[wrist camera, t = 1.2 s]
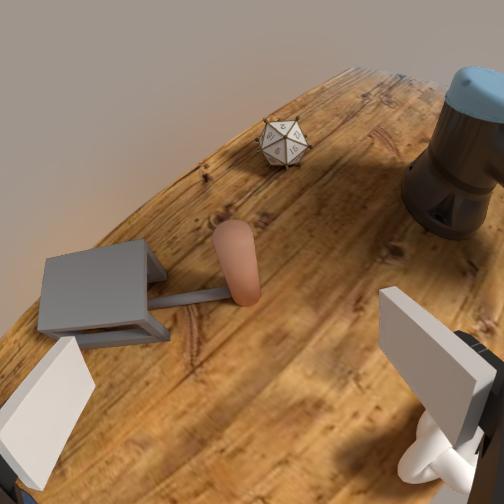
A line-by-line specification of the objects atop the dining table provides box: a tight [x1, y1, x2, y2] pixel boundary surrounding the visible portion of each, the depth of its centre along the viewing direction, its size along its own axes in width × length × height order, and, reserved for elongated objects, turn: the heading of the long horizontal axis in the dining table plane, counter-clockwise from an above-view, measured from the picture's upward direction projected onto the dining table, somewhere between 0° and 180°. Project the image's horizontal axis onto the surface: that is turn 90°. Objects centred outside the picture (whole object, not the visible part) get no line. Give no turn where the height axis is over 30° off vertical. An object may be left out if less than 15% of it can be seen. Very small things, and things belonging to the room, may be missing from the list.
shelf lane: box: [37, 239, 170, 349], centre depth 36 cm, size 14×9×8 cm
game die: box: [255, 116, 314, 170], centre depth 47 cm, size 9×8×10 cm
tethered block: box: [103, 219, 261, 331], centre depth 34 cm, size 20×5×13 cm, turn 99°
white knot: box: [398, 410, 484, 494], centre depth 24 cm, size 11×12×9 cm
